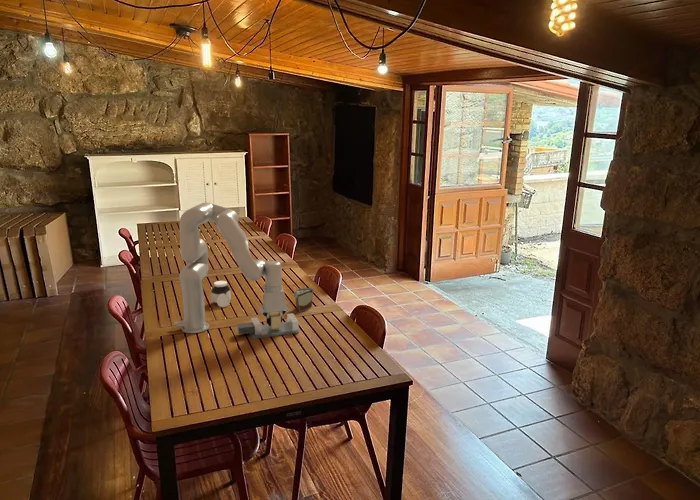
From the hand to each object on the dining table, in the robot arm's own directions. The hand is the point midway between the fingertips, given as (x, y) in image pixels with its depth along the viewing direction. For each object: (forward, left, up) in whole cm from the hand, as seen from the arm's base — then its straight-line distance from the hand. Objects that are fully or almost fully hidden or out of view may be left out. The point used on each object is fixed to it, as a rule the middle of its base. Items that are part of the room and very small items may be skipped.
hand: (274, 323), depth 234 cm
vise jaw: (-12, 0, -2) cm, 12 cm away
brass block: (0, 0, -1) cm, 1 cm away
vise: (-1, 0, -4) cm, 4 cm away
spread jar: (-19, +44, -4) cm, 48 cm away
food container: (+20, +25, -4) cm, 32 cm away
